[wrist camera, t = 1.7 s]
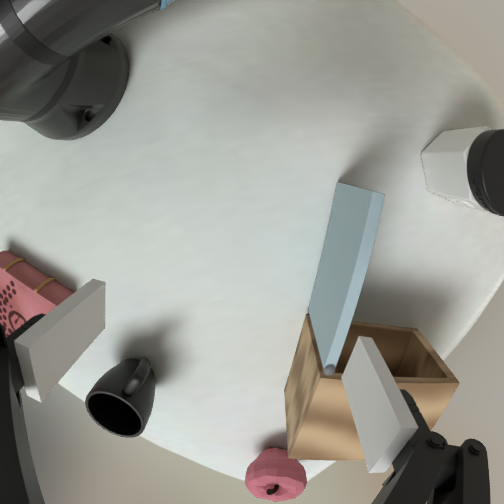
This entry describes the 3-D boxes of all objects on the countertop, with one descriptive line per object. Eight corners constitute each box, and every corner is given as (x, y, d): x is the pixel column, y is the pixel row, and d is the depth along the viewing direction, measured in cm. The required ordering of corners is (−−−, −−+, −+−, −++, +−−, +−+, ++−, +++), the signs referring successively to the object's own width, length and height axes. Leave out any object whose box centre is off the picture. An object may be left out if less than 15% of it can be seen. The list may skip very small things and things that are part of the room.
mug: (188, 357, 40) (170, 404, 31) (149, 402, 43) (129, 445, 34) (137, 321, 39) (107, 361, 30) (105, 372, 42) (77, 411, 33)
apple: (239, 459, 46) (235, 505, 36) (259, 431, 43) (256, 481, 34) (290, 470, 46) (292, 514, 37) (313, 443, 44) (319, 491, 34)
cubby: (305, 314, 38) (320, 377, 26) (417, 329, 38) (459, 382, 26) (284, 389, 41) (288, 458, 29) (386, 397, 41) (412, 456, 29)
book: (78, 287, 39) (59, 301, 34) (66, 364, 43) (52, 380, 38) (10, 245, 38) (-11, 254, 33) (5, 322, 42) (-11, 334, 37)
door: (307, 312, 37) (322, 374, 25) (336, 182, 33) (373, 191, 21) (314, 313, 37) (333, 375, 25) (345, 184, 33) (385, 194, 21)
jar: (411, 185, 33) (468, 197, 21) (427, 122, 31) (487, 110, 19) (465, 211, 33) (526, 231, 22) (480, 152, 31) (543, 155, 19)
